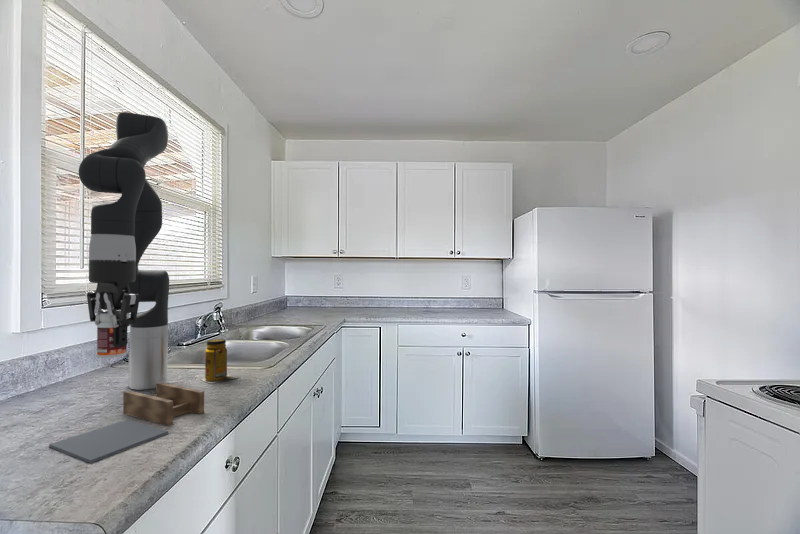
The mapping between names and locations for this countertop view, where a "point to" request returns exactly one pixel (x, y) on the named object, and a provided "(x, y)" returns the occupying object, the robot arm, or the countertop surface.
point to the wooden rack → (163, 403)
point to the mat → (107, 440)
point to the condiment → (216, 362)
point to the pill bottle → (107, 339)
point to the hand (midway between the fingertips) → (112, 344)
